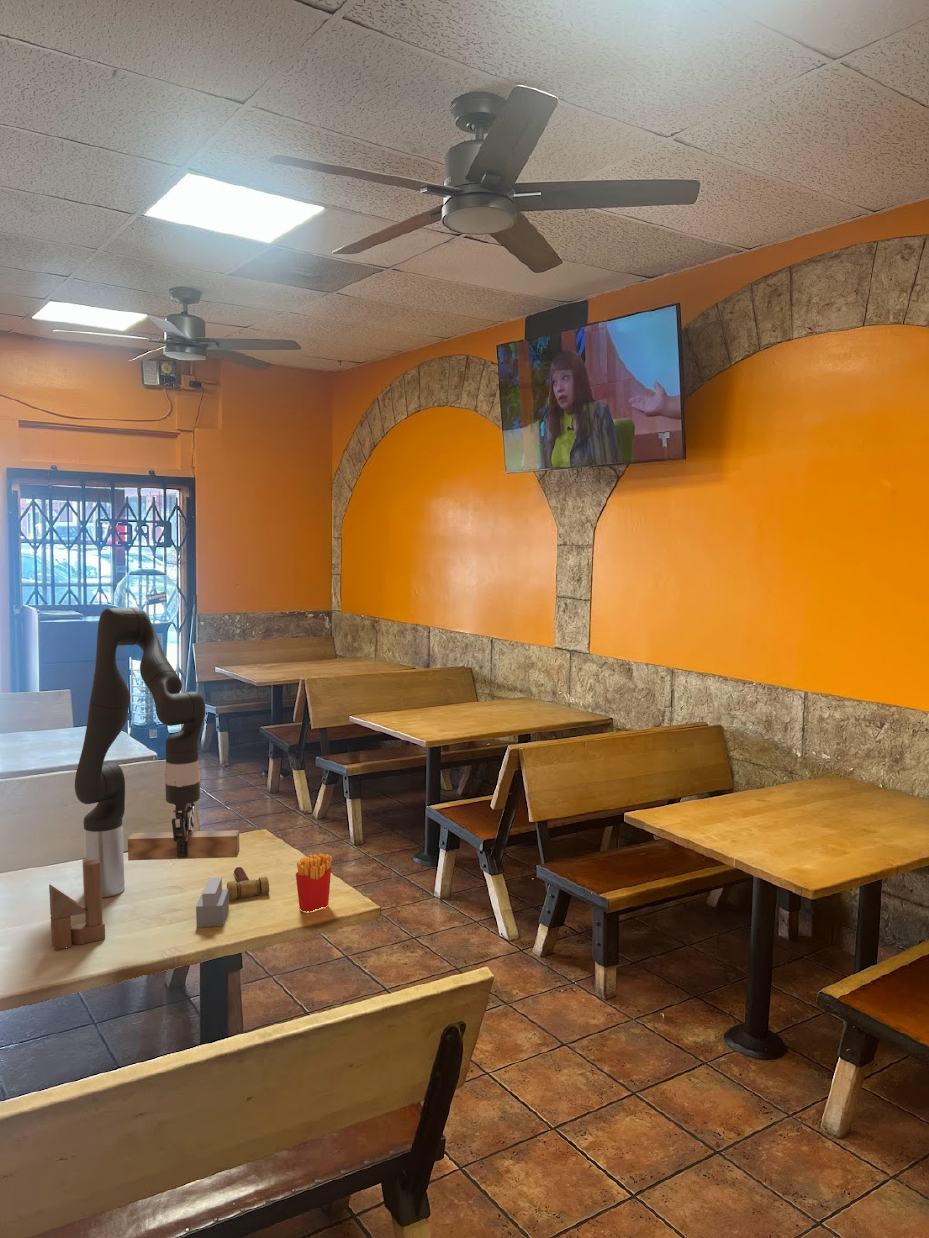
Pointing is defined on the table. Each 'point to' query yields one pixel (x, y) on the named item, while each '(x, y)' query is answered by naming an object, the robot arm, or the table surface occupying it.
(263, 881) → the gavel
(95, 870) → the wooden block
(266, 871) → the table surface
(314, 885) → the french fries
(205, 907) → the steps
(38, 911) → the table surface
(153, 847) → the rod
